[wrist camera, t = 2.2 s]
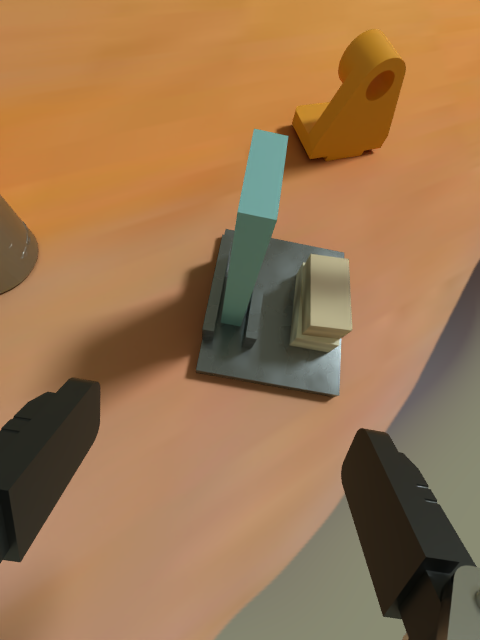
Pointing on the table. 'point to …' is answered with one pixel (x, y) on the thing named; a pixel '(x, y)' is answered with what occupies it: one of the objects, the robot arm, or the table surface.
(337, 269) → the offcut top
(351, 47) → the bracket
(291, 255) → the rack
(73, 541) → the table surface
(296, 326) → the block
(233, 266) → the teal rectangular slab
